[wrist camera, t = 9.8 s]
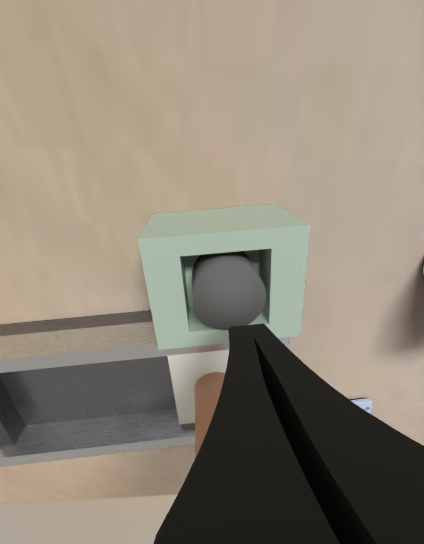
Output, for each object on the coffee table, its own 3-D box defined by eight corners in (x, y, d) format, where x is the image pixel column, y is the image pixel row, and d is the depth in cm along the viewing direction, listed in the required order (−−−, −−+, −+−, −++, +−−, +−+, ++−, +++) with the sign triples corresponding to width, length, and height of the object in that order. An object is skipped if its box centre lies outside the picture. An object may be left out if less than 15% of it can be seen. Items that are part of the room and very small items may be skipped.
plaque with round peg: (251, 399, 22) (273, 489, 16) (179, 407, 22) (176, 501, 16) (251, 331, 19) (278, 411, 13) (168, 339, 19) (159, 424, 13)
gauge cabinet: (272, 289, 20) (300, 335, 15) (166, 299, 20) (158, 350, 15) (275, 203, 17) (310, 225, 12) (152, 213, 17) (137, 239, 12)
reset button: (253, 297, 16) (265, 326, 14) (195, 303, 16) (195, 333, 14) (252, 242, 15) (266, 262, 12) (189, 247, 15) (188, 269, 12)
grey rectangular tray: (269, 392, 25) (282, 434, 21) (25, 418, 24) (-5, 467, 20) (272, 298, 20) (290, 330, 17) (-23, 326, 19) (-73, 367, 16)
